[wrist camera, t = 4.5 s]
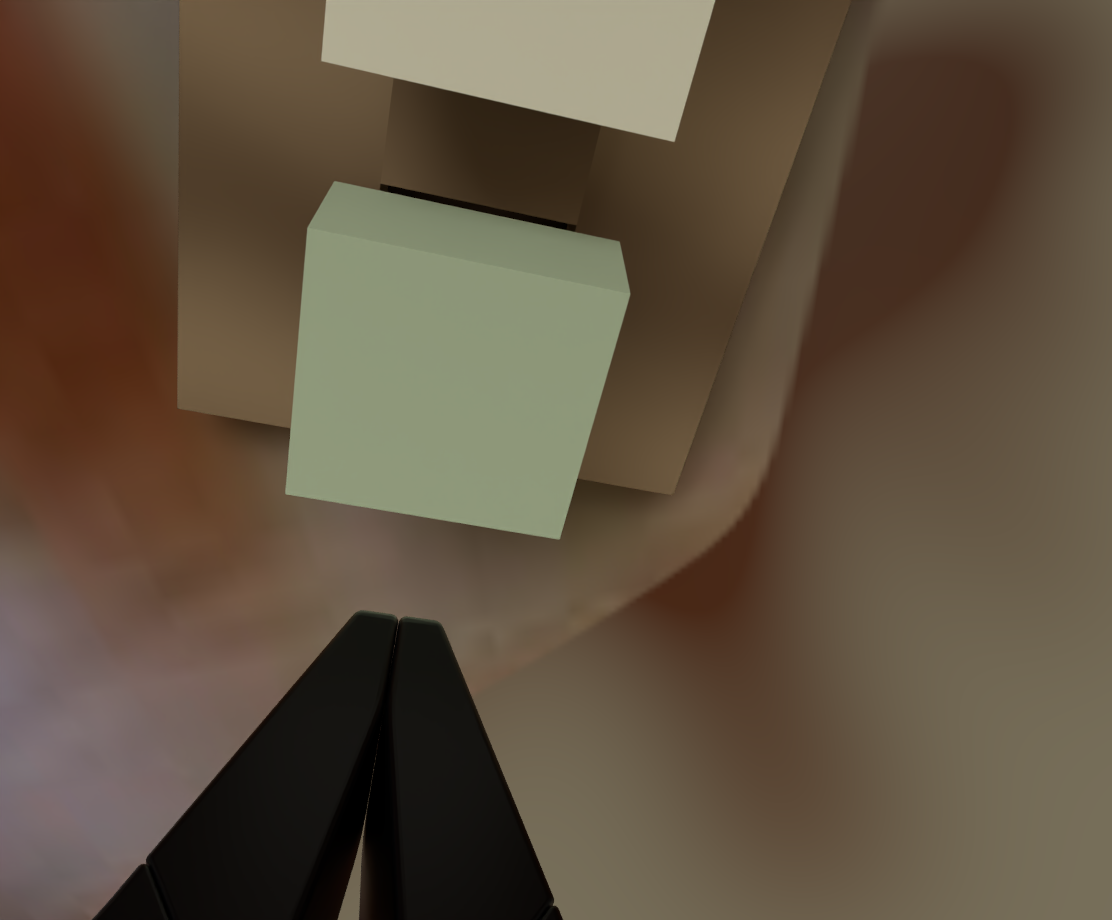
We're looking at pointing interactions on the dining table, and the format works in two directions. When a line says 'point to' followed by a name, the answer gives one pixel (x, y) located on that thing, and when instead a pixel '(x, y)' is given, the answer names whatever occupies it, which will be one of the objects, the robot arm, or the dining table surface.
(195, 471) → the dining table surface
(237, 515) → the dining table surface
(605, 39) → the white cube
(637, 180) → the walnut panel
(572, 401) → the pale green cube
